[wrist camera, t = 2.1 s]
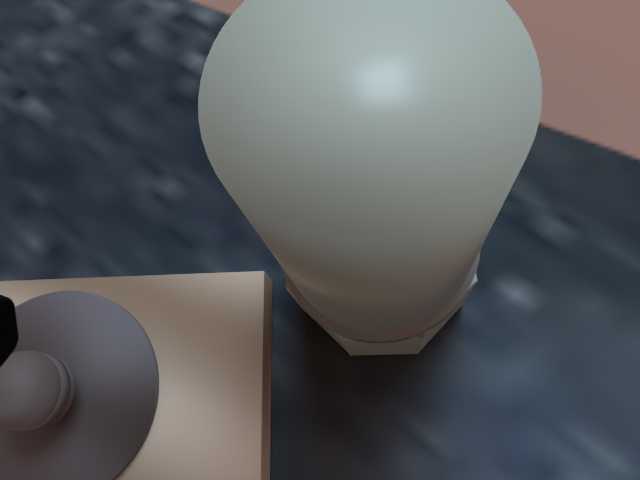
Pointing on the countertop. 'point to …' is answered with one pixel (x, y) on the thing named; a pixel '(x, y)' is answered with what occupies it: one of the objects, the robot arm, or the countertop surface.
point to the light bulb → (372, 150)
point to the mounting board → (139, 378)
